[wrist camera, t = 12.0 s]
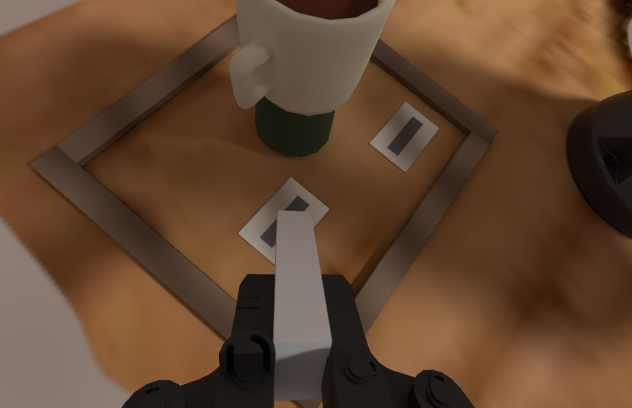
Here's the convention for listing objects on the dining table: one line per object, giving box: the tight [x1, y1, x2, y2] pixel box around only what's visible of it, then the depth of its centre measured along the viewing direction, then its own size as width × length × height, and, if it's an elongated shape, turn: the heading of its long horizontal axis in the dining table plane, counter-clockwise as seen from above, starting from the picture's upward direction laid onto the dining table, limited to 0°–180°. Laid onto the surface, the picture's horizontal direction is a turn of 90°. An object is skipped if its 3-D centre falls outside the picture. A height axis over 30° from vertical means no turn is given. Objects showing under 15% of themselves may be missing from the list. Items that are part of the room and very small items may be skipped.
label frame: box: [29, 16, 498, 408], centre depth 23 cm, size 28×25×1 cm
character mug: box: [229, 0, 396, 157], centre depth 18 cm, size 11×7×13 cm, turn 141°
